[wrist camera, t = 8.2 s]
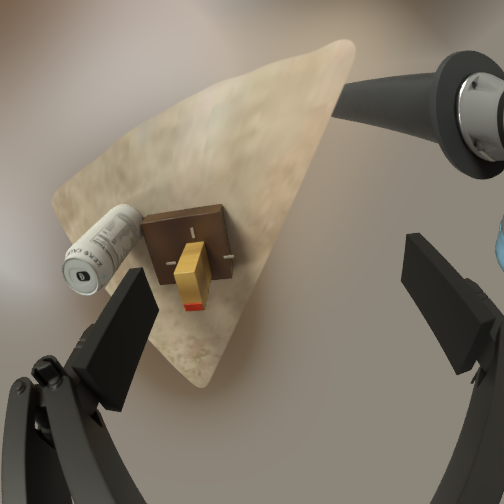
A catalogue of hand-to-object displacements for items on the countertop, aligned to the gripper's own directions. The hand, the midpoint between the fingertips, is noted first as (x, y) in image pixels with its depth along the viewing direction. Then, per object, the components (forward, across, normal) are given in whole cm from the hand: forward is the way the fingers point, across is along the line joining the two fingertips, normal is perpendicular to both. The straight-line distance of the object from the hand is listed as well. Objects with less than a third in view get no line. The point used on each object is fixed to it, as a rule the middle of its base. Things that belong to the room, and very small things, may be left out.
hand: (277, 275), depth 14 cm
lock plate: (+26, -12, -9) cm, 30 cm away
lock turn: (+23, -11, -11) cm, 27 cm away
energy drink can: (+26, -21, -5) cm, 33 cm away
